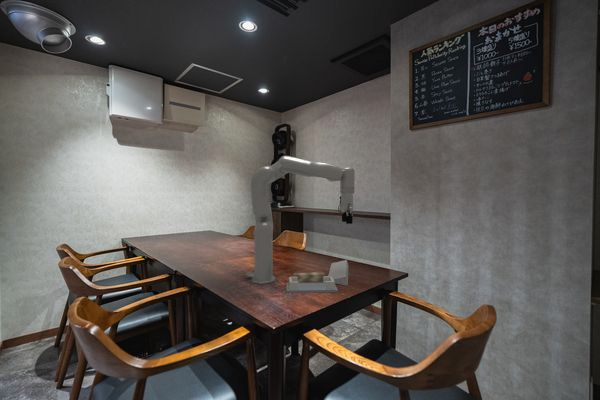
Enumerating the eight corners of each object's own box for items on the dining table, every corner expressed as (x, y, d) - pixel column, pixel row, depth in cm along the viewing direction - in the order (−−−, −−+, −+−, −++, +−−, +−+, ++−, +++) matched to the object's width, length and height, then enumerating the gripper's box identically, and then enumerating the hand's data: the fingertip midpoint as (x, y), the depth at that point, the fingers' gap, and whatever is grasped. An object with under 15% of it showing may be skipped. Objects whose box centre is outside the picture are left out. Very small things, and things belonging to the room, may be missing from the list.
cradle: (286, 292, 121) (286, 283, 121) (286, 285, 131) (286, 276, 131) (337, 291, 123) (337, 282, 122) (333, 284, 133) (333, 275, 132)
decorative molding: (329, 289, 133) (348, 286, 131) (326, 280, 133) (345, 276, 131) (333, 270, 167) (348, 267, 165) (331, 263, 167) (346, 259, 165)
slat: (294, 283, 135) (294, 275, 135) (293, 280, 139) (293, 273, 139) (324, 281, 137) (324, 274, 137) (322, 279, 141) (322, 272, 141)
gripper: (336, 191, 148) (336, 221, 149) (344, 190, 131) (343, 224, 131) (349, 191, 149) (349, 221, 149) (358, 190, 132) (358, 224, 132)
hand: (346, 222), depth 140 cm, fingers open, 9 cm apart
